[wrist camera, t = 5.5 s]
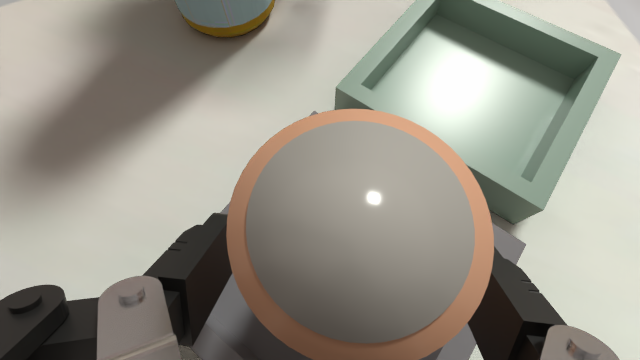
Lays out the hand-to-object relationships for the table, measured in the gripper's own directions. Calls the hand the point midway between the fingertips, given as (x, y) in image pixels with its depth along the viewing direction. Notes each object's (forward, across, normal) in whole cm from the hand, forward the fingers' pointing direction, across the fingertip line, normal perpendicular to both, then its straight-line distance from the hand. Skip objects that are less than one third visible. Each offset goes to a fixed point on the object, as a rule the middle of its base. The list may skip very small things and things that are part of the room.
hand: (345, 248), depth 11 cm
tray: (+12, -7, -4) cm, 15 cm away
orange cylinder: (+3, 0, +4) cm, 5 cm away
